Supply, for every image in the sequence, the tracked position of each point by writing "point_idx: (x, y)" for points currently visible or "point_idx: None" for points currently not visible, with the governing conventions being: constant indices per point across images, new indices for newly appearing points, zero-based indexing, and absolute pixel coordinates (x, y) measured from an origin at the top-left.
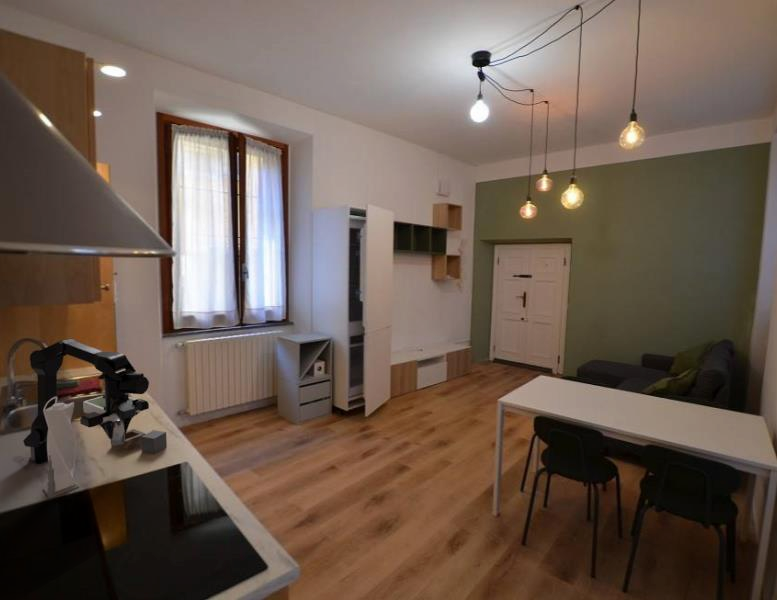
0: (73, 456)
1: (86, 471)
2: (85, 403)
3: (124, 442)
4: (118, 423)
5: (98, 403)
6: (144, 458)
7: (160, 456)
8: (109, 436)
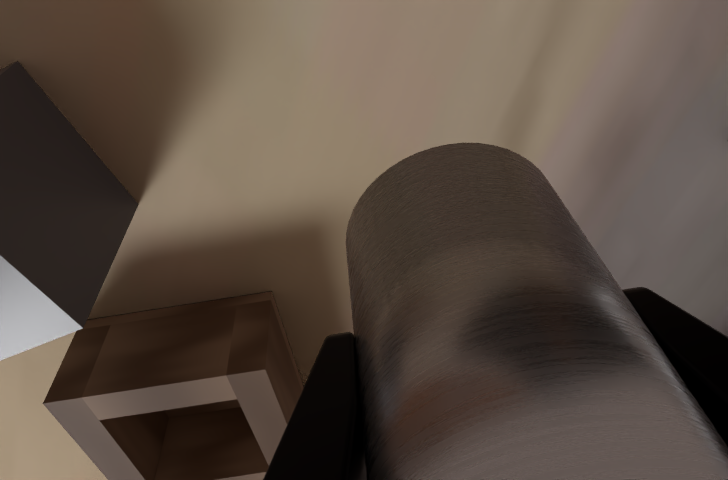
0: None
1: (595, 187)
2: None
3: (255, 364)
4: None
5: None
6: (140, 43)
7: None
8: (703, 337)
